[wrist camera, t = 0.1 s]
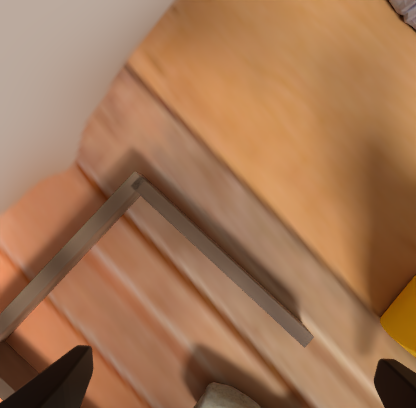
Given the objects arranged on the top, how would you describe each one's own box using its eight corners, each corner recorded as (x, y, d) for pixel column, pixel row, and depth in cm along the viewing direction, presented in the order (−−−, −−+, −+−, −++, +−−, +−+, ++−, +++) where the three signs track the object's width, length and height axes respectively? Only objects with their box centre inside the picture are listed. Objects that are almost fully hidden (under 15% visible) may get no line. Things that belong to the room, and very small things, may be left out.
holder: (148, 494, 22) (141, 530, 20) (-15, 342, 22) (-42, 358, 20) (302, 323, 23) (314, 337, 20) (142, 175, 23) (134, 170, 20)
